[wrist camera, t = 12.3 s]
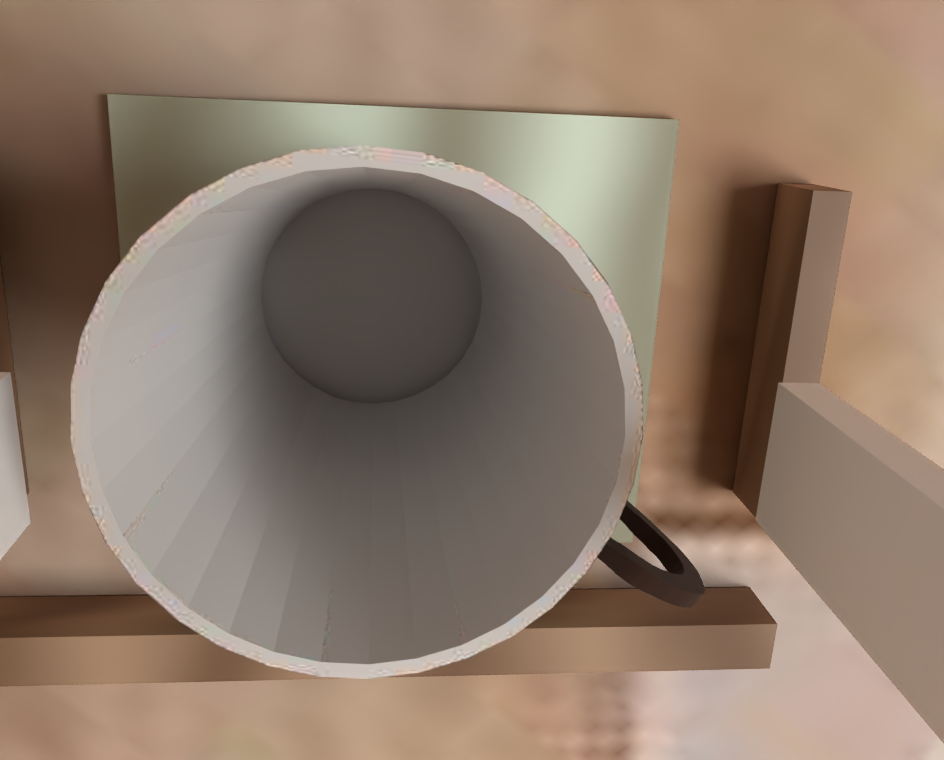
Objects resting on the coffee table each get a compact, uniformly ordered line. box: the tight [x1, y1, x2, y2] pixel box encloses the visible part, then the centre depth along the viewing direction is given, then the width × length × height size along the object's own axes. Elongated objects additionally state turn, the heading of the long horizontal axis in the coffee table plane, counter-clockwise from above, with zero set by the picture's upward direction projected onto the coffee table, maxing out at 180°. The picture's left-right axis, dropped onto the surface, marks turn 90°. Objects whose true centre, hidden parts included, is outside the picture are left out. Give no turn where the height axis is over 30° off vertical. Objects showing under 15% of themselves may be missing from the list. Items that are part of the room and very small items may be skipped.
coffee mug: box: [70, 145, 705, 679], centre depth 18 cm, size 12×9×10 cm
